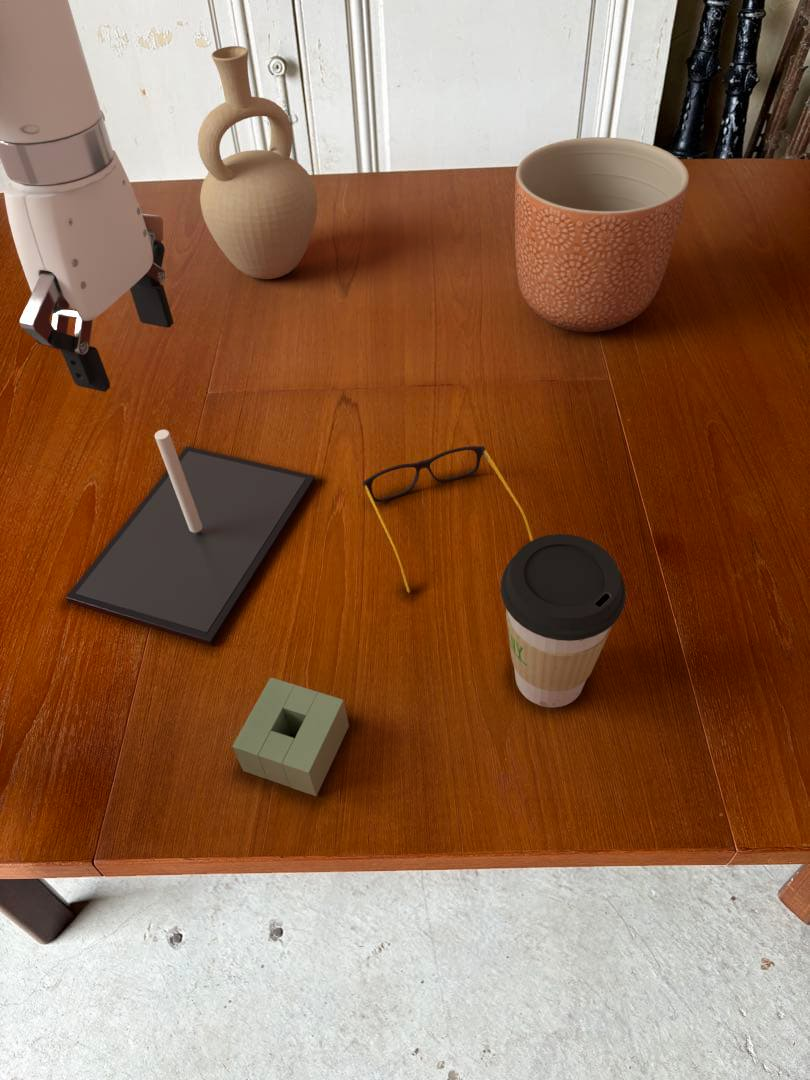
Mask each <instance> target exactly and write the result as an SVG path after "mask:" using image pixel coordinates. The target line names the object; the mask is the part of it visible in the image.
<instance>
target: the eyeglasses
mask: <svg viewBox="0 0 810 1080" xmlns="http://www.w3.org/2000/svg"><path fill="white" fill-rule="evenodd" d="M462 451H472V452H474V453H475V455H476V461H475V466H474V468H473V469H472V470H470V471H467V472H465V473H462V474H459V475H456V476H453V477H451V476H450V477H447V478H438V477H437V476H436V475H434V473H433V470H432V469H431V464H432V463H433V462H434V461H436V460H438V459H440V458H442V457H445V456H448V455H450V454H454V453H459V452H462ZM483 456H484V457H485V459H486V460H487V461H488V464H489V465H490V466H491V468H492V469H493V470H494V472H495V474H496V476H497V477H498V478H499V480H500V481H501V483H502V484H503V486H504V488H505V489H506V491H507V492H508V495H509V496H511V499H512V500H513V502H514V503H515V505H516V506H517V508H518V510H519V512H520V514H521V515H522V518H523V521H524V524H525V526H526V530H527V533H528V537H529V542H530V541H532V540H534V537H533V534H532V531H531V527H530V524H529V521H528V519H527V516H526V514H525V512H524V510H523V507H522V506H521V504H520V503H519V501H518V499H517V498H516V496H515V495H514V493H513V491H512V490H511V488H510V487H509V485H508V483H507V481H506V480H505V478H504V477H503V475H502V473H501V472H500V470H499V468H498V466H497V465H496V464H495V462H494V460H493V459H492V457H491V456H490V454H489V453H488V451H487V449H486V447H485V446H483V445H472V446H462V447H461V446H460V447H457V448H451V449H448V450H445V451H443V452H440V453H438V454H436V455H434V456H432V457H430V458H428V459H424V460H420V461H417V462H412V463H402V464H398V465H394V466H391V467H387V468H385V469H383V470H381V471H380V470H379V472H377V473H374V474H372V475H371V476H370V477H367V478H366V479H365V480H363V482H362V485H363V489H364V490H365V492H366V495H367V497H368V499H369V500H370V503H371V505H372V506H373V509H374V511H375V513H376V515H377V517H378V519H379V522H380V524H381V526H382V527H383V529H384V532H385V534H386V536H387V538H388V540H389V542H390V544H391V546H392V549H393V552H394V554H395V556H396V559H397V562H398V565H399V568H400V571H401V575H402V577H403V578H402V579H403V582H404V585H405V588H406V592H407V593H411V590H410V587H409V583H408V580H407V577H406V572H405V569H404V567H403V564H402V560H401V558H400V555H399V552H398V549H397V548H396V547H397V546H396V545H395V543H394V541H393V539H392V536H391V535H390V532H389V530H388V527H387V526H386V524H385V522H384V520H383V517H382V515H381V513H380V511H379V509H378V507H377V504H376V503H382V502H385V501H389V500H392V499H395V498H399V497H401V496H404V495H407V494H408V493H410V492H412V490H413V489H414V487H415V486H416V485H417V483H418V482H419V478H420V471H421V470H422V469H427V470H428V472H429V474H430V475H431V477H432V478H433V479H434V480H435V481H436V482H438V483H446V482H452V481H455V480H458V479H462V478H466V477H468V476H472V475H474V474H475V473H476V472H477V471H478V470H479V468H480V463H481V459H482V457H483ZM405 468H414V469H415V473H414V474H415V475H414V477H413V480H412V483H411V485H410V486H409V487H408V488H407V489H405V490H403V491H400V492H398V493H396V494H392V495H388V496H386V497H381V498H377V497H375V495H374V492H373V482H374V480H376V479H377V478H378V477H380V476H382V475H384V474H386V473H389V472H391V471H396V470H400V469H405Z"/></svg>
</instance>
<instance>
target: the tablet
mask: <svg viewBox="0 0 810 1080" xmlns="http://www.w3.org/2000/svg"><path fill="white" fill-rule="evenodd" d="M178 459H179V461H180V464H181V467H182V470H183V473H184V476H185V478H186V481H187V484H188V487H189V490H190V492H191V495H192V498H193V501H194V504H195V507H196V509H197V512H198V515H199V518H200V521H201V524H202V529H201V530H200V531H201V533H200V534H199V535H195V534H194V533H193V532H191V531H190V530H189V527H188V525H187V522H186V519H185V517H184V514H183V511H182V509H181V506H180V503H179V501H178V498H177V495H176V492H175V490H174V487H173V484H172V482H171V479H170V476H169V474H168V471H167V470H166V471H165V473H164V474H163V475H162V476H161V478H160V479H159V480H158V481H157V483H156V484H155V485H154V487H152V489H151V490H150V491H149V492H148V494H147V495H146V496H145V498H143V500H142V501H141V503H140V504H139V505H138V506H137V507H136V509H135V510H134V511H133V513H132V514H131V515H130V516H129V518H128V519H127V520H126V521H125V522H124V524H123V525H122V526H121V528H120V529H119V530H118V531H117V532H116V533H115V535H114V536H113V537H112V539H110V541H109V543H108V544H107V545H106V546H105V548H104V549H103V550H102V551H101V552H100V553H99V555H98V556H97V557H96V558H95V560H94V561H93V562H92V564H91V565H90V566H89V567H88V569H87V570H86V571H85V572H84V573H83V575H82V576H81V578H79V580H78V581H77V582H76V584H75V585H74V586H73V587H72V588H71V590H70V591H69V593H67V595H66V596H65V599H66V601H67V603H69V604H72V605H76V606H80V607H82V608H85V609H88V610H92V611H95V612H98V613H102V614H105V615H108V616H112V617H114V618H119V619H122V620H124V621H128V622H132V623H135V624H138V625H141V626H144V627H147V628H150V629H154V630H157V631H160V632H163V633H167V634H170V635H173V636H177V637H180V638H183V639H186V640H191V641H193V642H197V643H200V644H203V645H207V646H208V647H209V646H210V647H213V646H214V644H215V643H216V641H217V640H218V638H219V636H220V635H221V633H222V631H224V628H225V627H226V625H227V624H228V622H229V621H230V619H231V617H232V616H233V614H234V612H235V611H236V610H237V608H238V606H239V605H240V602H242V600H243V598H244V596H245V595H246V593H247V592H248V590H249V589H250V587H251V585H252V583H253V582H254V581H255V579H256V577H257V576H258V574H259V573H260V571H261V569H262V568H263V567H264V565H265V563H266V562H267V560H268V559H269V557H270V555H271V554H272V552H273V551H274V549H275V547H276V546H277V544H278V543H279V541H280V539H281V538H282V536H283V535H284V533H285V531H287V528H288V527H289V525H290V524H291V523H292V520H293V519H294V517H295V515H296V514H297V513H298V511H299V509H300V508H301V506H302V505H303V503H304V501H305V500H306V498H307V496H308V495H309V493H310V491H311V490H312V489H313V487H314V485H315V483H316V482H317V480H316V476H315V475H312V474H308V473H305V472H299V471H295V470H291V469H286V468H282V467H278V466H274V465H270V464H264V463H260V462H256V461H252V460H249V459H248V460H247V459H243V458H240V457H234V456H231V455H225V454H221V453H217V452H213V451H209V450H204V449H199V448H196V447H191V446H186V447H185V448H184V449H183V451H181V453H180V454H179V455H178Z"/></svg>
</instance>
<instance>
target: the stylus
mask: <svg viewBox="0 0 810 1080" xmlns="http://www.w3.org/2000/svg"><path fill="white" fill-rule="evenodd" d="M154 439H155V442H156V445H157V447H158V450H159V452H160V455H161V458H162V460H163V463H164V466H165V468H166V472H167V471H168V474H169V476H170V479H171V482H172V484H173V487H174V490H175V492H176V495H177V498H178V501H179V503H180V506H181V509H182V511H183V514H184V517H185V519H186V522H187V525H188V527H189V530H190V531H191V532H193V533H194V534H195V535H199V534H200V533H201V531H200V530H201V529H202V524H201V521H200V518H199V515H198V512H197V509H196V507H195V504H194V501H193V498H192V495H191V492H190V490H189V487H188V484H187V481H186V478H185V476H184V473H183V470H182V467H181V464H180V461H179V459H178V457H179V455H178V453H177V450H176V447H175V444H174V442H173V440H172V439H173V438H172V436H171V433H170V431H169V430H167V429H159V430H158V431H156V432H155V433H154Z"/></svg>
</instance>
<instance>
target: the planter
mask: <svg viewBox="0 0 810 1080" xmlns="http://www.w3.org/2000/svg"><path fill="white" fill-rule="evenodd" d="M689 182H690V173H689V171H688V169H687V167H686V165H685V164H684V163H683V161H682V160H680V159H679V158H678V157H677V156H675V155H674V154H672V153H670V152H669V151H667V150H665V149H663V148H661V147H659V146H656V145H653V144H649V143H646V142H643V141H638V140H634V139H633V140H632V139H629V138H628V139H627V138H621V137H604V136H603V137H602V136H594V137H578V138H571V139H566V140H561V141H557V142H553V143H549V144H547V145H544V146H542V147H539V148H537V149H535V150H534V151H532V152H530V153H529V154H527V155H526V156H525V157H523V159H522V160H521V161H520V162H519V164H518V165H517V168H516V171H515V182H514V183H515V184H514V254H515V255H514V256H515V267H516V274H517V282H518V286H519V287H518V288H519V290H520V293H521V295H522V297H523V299H524V301H525V302H526V304H527V305H528V307H529V308H530V309H531V310H532V311H533V312H534V313H535V314H536V315H537V316H538V317H539V318H541V319H542V320H543V321H545V322H547V323H549V324H551V325H553V326H555V327H557V328H558V329H559V328H560V329H563V330H566V331H570V332H578V333H598V332H605V331H610V330H613V329H616V328H619V327H620V326H621V327H622V326H623V325H626V324H627V323H629V322H631V321H632V320H634V319H635V318H637V317H638V316H640V315H641V314H642V313H643V312H644V311H645V310H646V309H647V308H648V307H649V306H650V304H651V303H652V302H653V300H654V298H655V297H656V295H657V293H658V291H659V289H660V286H661V283H662V281H663V278H664V276H665V273H666V270H667V267H668V264H669V261H670V258H671V255H672V251H673V248H674V244H675V240H676V236H677V233H678V230H679V227H680V222H681V218H682V214H683V210H684V206H685V201H686V198H687V197H686V196H687V192H688V189H689Z"/></svg>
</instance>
